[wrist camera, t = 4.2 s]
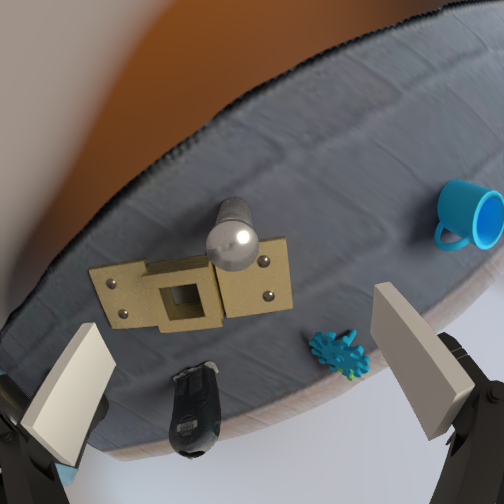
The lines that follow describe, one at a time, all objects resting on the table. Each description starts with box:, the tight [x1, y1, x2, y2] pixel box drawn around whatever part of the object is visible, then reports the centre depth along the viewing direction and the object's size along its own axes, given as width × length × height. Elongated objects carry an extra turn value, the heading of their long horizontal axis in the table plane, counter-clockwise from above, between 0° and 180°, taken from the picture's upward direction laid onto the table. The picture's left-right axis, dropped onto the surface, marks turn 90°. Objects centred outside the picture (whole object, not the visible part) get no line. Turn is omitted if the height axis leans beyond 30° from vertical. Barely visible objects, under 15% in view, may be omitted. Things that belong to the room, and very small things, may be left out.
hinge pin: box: [206, 197, 260, 272], centre depth 28 cm, size 4×4×12 cm
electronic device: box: [169, 361, 221, 460], centre depth 36 cm, size 9×6×15 cm, turn 115°
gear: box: [309, 329, 370, 381], centre depth 39 cm, size 11×6×10 cm
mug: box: [434, 179, 504, 251], centre depth 31 cm, size 12×8×8 cm
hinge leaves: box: [89, 236, 293, 333], centre depth 35 cm, size 27×10×4 cm, turn 99°
